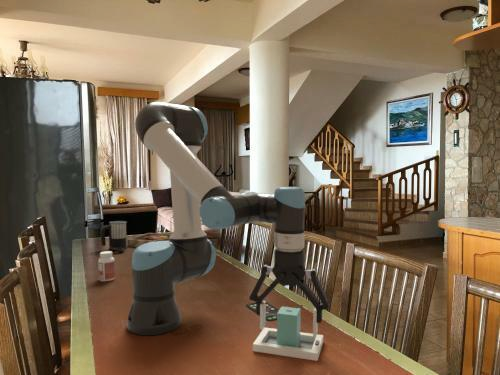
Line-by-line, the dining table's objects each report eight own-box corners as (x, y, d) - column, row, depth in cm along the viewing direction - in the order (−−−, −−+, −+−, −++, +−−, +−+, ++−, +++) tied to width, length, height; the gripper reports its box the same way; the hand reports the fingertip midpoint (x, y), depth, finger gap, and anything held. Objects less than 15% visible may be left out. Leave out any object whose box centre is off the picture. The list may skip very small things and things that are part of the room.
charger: (277, 348, 99) (277, 313, 98) (281, 339, 104) (281, 306, 103) (296, 351, 97) (296, 315, 97) (300, 342, 102) (300, 308, 101)
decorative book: (154, 248, 217) (154, 239, 216) (142, 243, 229) (142, 235, 229) (173, 245, 224) (172, 237, 223) (160, 241, 236) (160, 233, 236)
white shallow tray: (252, 351, 98) (252, 342, 98) (264, 333, 108) (264, 326, 108) (317, 360, 93) (317, 352, 93) (323, 341, 103) (323, 334, 103)
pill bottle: (117, 277, 161) (116, 250, 161) (112, 281, 155) (111, 253, 155) (101, 277, 161) (101, 250, 161) (96, 281, 155) (95, 254, 154)
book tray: (127, 246, 221) (127, 239, 221) (148, 239, 241) (148, 232, 241) (164, 249, 214) (164, 241, 213) (183, 241, 234) (183, 235, 234)
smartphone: (268, 320, 116) (244, 304, 129) (268, 323, 116) (244, 306, 129) (289, 316, 120) (264, 300, 133) (289, 318, 120) (264, 302, 133)
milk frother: (120, 246, 222) (120, 220, 221) (138, 249, 213) (137, 222, 212) (97, 250, 211) (97, 223, 210) (115, 254, 201) (114, 226, 200)
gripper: (237, 248, 99) (237, 330, 100) (338, 255, 91) (337, 344, 93) (246, 242, 106) (246, 319, 108) (341, 248, 99) (339, 331, 100)
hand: (288, 331), depth 100 cm, fingers open, 13 cm apart
